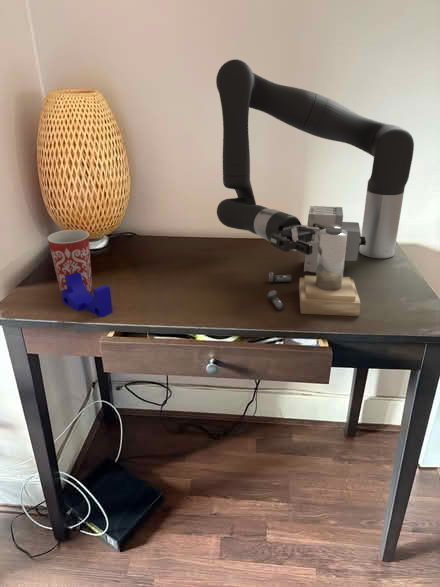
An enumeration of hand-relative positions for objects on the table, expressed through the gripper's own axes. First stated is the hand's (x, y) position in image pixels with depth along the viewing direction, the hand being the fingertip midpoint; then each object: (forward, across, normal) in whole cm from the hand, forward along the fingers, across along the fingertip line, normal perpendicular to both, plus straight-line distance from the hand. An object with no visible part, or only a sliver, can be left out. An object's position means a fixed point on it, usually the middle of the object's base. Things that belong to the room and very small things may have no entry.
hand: (326, 246), depth 101 cm
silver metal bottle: (+2, 0, +8) cm, 9 cm away
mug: (-37, -43, +13) cm, 58 cm away
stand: (+2, 0, +12) cm, 13 cm away
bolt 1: (-12, -1, +12) cm, 17 cm away
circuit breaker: (-11, +15, +13) cm, 23 cm away
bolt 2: (-3, -10, +12) cm, 16 cm away
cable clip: (-26, -45, +13) cm, 53 cm away
